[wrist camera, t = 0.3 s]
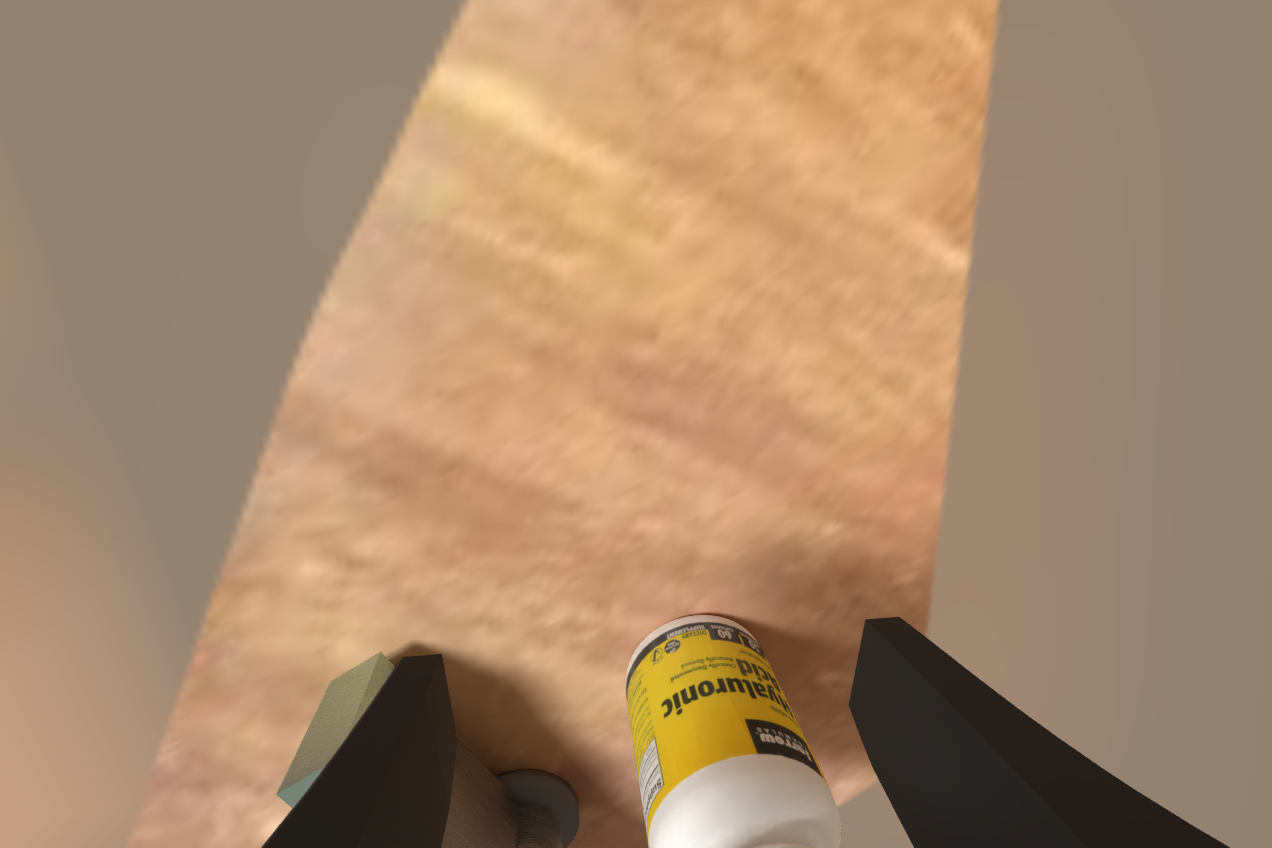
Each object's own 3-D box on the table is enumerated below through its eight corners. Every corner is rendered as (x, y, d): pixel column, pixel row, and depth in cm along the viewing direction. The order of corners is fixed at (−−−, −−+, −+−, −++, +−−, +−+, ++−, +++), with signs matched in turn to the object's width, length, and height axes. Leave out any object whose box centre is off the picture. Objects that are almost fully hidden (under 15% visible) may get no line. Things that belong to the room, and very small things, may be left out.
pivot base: (508, 867, 25) (507, 882, 24) (443, 806, 24) (441, 820, 23) (598, 817, 25) (599, 831, 24) (539, 751, 23) (539, 765, 23)
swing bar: (575, 836, 24) (581, 989, 19) (511, 872, 24) (501, 1032, 19) (393, 644, 20) (344, 775, 15) (318, 688, 20) (246, 831, 15)
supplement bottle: (774, 611, 23) (926, 878, 13) (746, 725, 24) (865, 1033, 15) (632, 605, 22) (691, 888, 13) (614, 724, 23) (654, 1052, 14)
